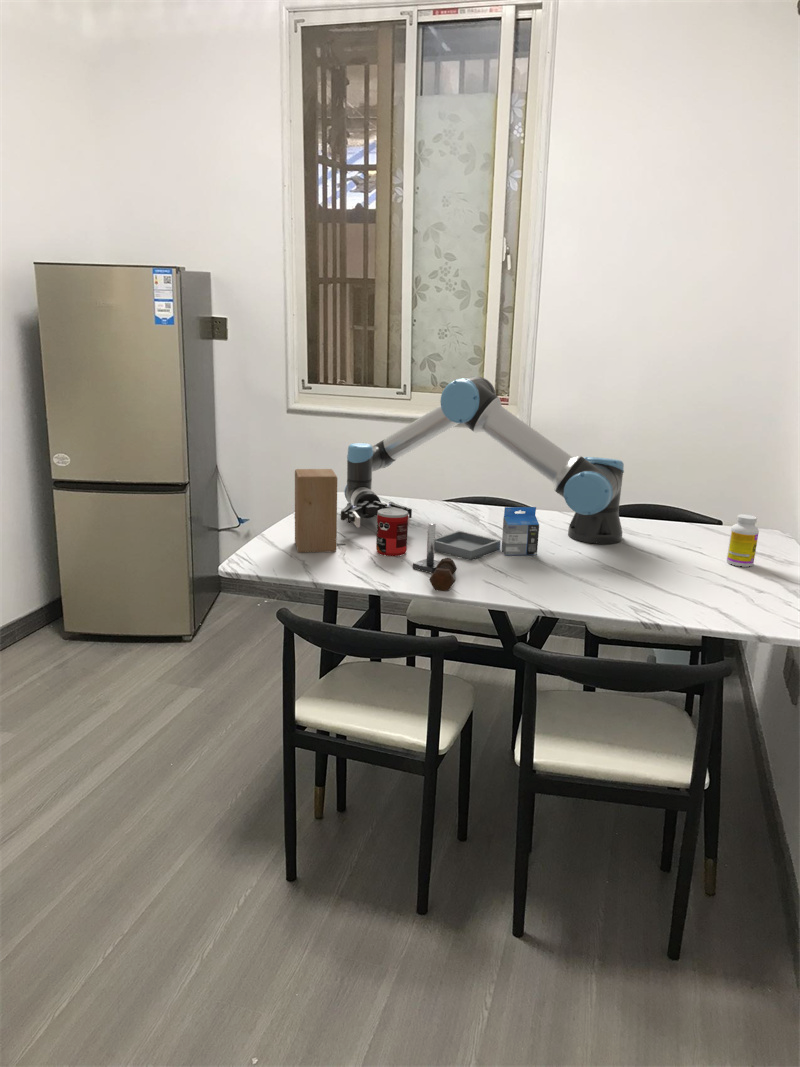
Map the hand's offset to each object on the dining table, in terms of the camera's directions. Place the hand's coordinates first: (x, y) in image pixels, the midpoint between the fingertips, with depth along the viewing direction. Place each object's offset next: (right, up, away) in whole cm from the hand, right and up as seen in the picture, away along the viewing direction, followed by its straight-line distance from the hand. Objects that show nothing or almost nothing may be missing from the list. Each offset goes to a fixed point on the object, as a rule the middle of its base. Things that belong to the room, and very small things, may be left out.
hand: (383, 521), depth 213 cm
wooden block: (-18, -7, -4) cm, 20 cm away
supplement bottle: (+94, -11, -5) cm, 94 cm away
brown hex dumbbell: (+15, -15, -26) cm, 34 cm away
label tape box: (+36, -9, -3) cm, 37 cm away
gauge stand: (+12, -12, -18) cm, 24 cm away
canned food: (+2, -8, -7) cm, 11 cm away
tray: (+22, -8, -2) cm, 23 cm away
